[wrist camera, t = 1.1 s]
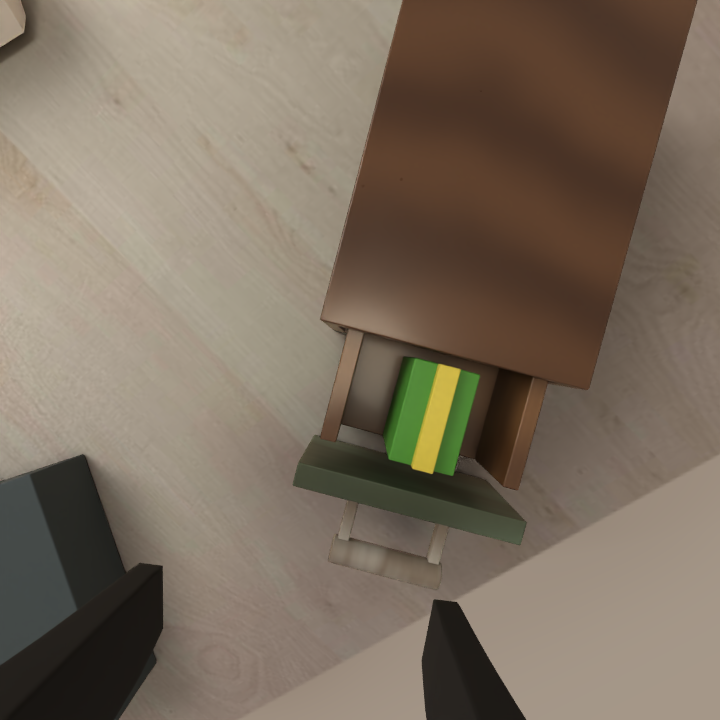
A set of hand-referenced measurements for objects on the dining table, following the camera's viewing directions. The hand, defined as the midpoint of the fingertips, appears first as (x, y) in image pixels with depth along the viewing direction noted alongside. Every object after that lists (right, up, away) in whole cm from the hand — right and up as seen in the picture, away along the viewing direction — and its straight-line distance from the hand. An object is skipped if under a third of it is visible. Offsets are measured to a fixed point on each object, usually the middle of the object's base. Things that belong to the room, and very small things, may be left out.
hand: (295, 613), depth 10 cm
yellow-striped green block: (+5, +4, +13) cm, 14 cm away
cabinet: (+9, +17, +14) cm, 23 cm away
